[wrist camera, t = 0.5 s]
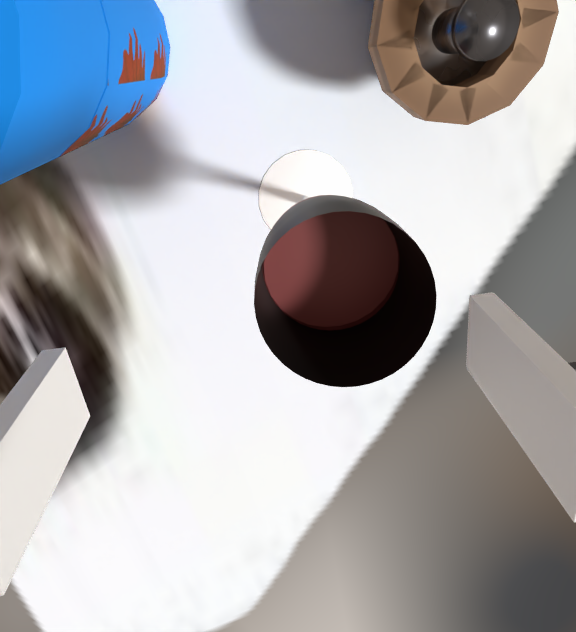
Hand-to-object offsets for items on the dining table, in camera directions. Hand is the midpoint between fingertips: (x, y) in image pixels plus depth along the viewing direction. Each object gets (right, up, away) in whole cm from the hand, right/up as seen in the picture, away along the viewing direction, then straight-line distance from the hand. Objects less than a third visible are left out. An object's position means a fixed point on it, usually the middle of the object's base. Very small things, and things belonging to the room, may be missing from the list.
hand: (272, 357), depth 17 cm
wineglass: (+2, +11, +24) cm, 26 cm away
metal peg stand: (+10, +21, +19) cm, 30 cm away
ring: (+10, +18, +14) cm, 25 cm away
